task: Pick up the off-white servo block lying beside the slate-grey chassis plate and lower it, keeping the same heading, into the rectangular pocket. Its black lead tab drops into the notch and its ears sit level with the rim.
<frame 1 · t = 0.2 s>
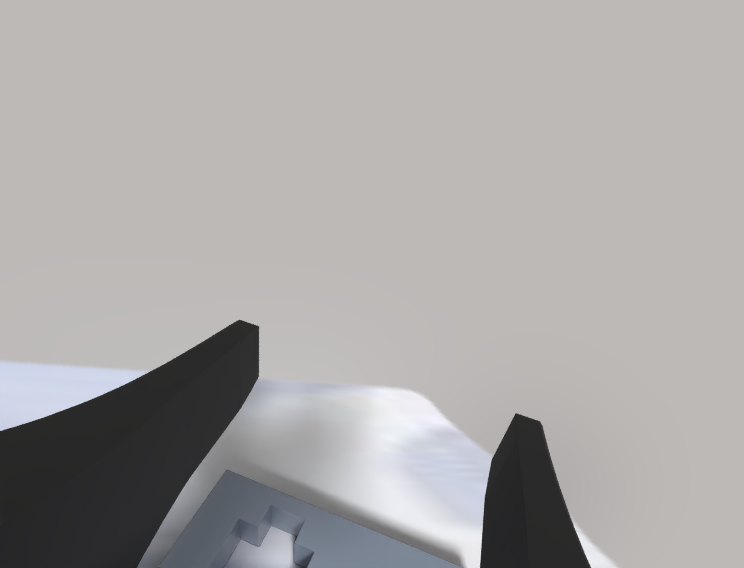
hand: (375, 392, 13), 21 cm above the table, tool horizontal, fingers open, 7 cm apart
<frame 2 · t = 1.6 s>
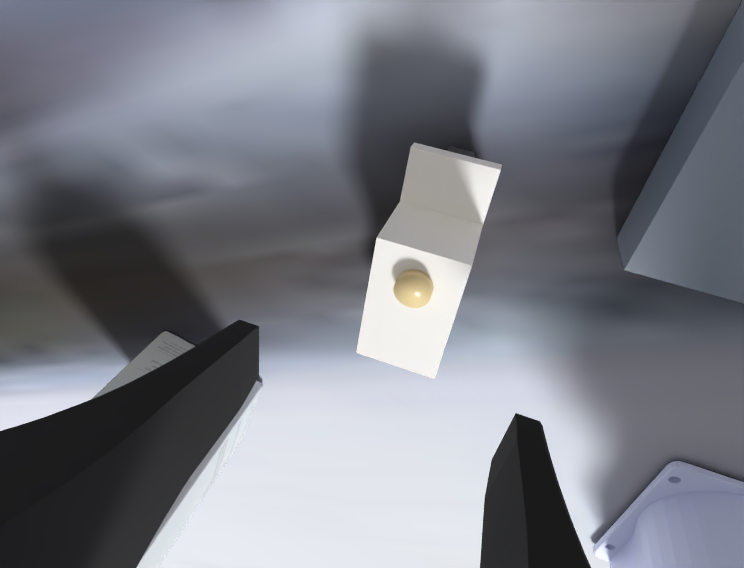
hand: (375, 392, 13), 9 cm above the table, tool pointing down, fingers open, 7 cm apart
supplement box: (207, 385, 32), on the table
servo: (440, 235, 20), on the table
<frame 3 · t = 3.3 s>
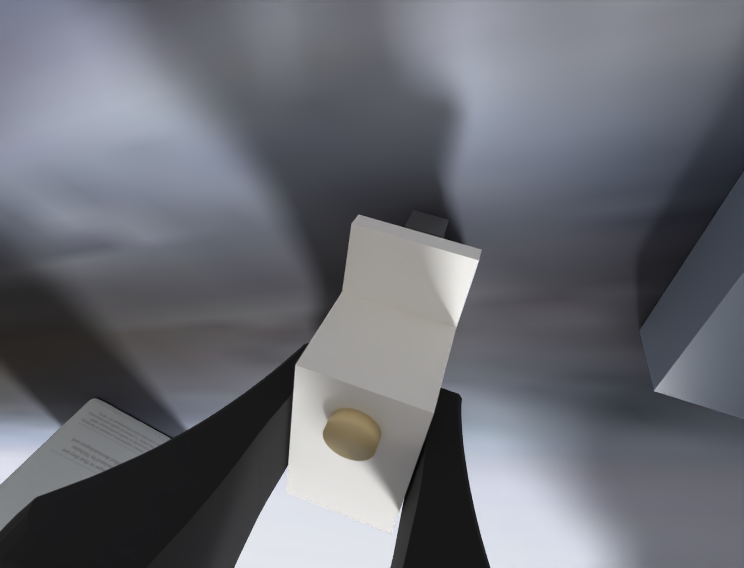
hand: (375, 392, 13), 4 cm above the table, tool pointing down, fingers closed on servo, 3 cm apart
supplement box: (150, 455, 27), on the table
servo: (407, 314, 16), on the table, touching gripper
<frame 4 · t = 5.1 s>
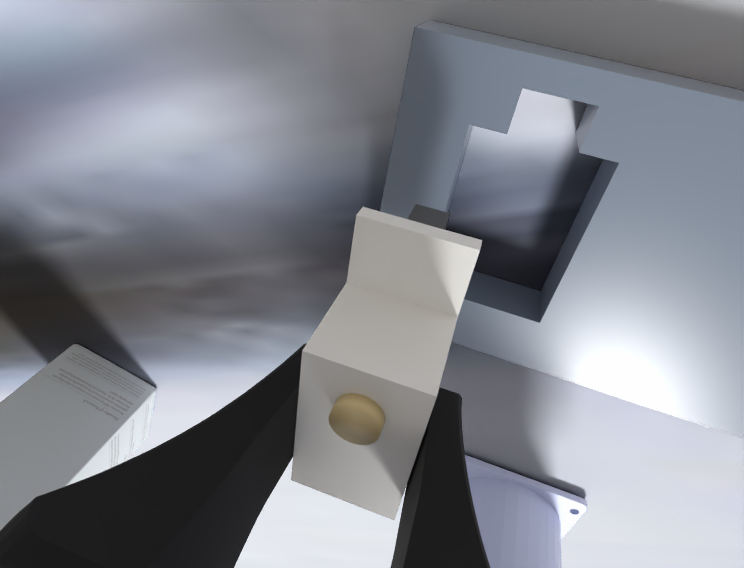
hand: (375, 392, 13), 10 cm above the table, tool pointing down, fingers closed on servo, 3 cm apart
supplement box: (116, 388, 38), on the table
chassis: (597, 231, 19), on the table
servo: (409, 307, 16), point 6 cm above the table, touching gripper
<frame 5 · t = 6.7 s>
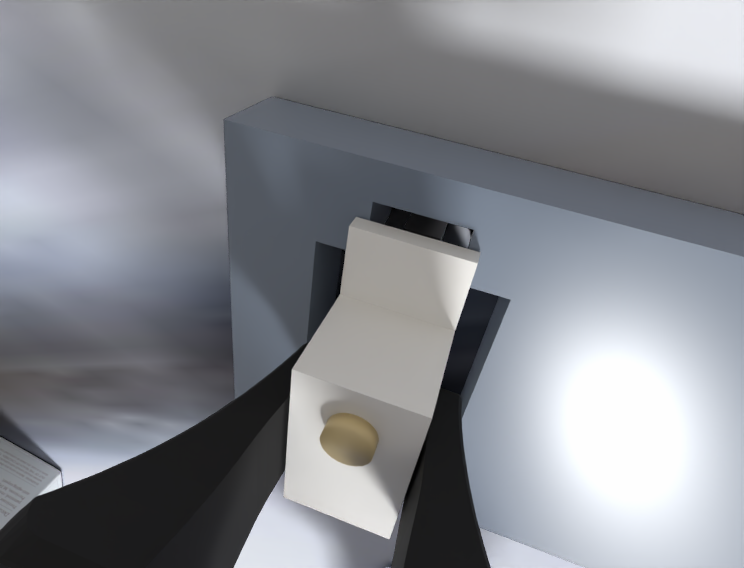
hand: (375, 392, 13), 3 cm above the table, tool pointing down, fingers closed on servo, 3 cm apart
supplement box: (23, 466, 34), on the table
chassis: (511, 352, 15), on the table
servo: (406, 317, 16), resting in chassis, touching gripper
when the fingers open (3 cm above the table, at t = 7.3 s): servo stays where it is, resting in chassis.
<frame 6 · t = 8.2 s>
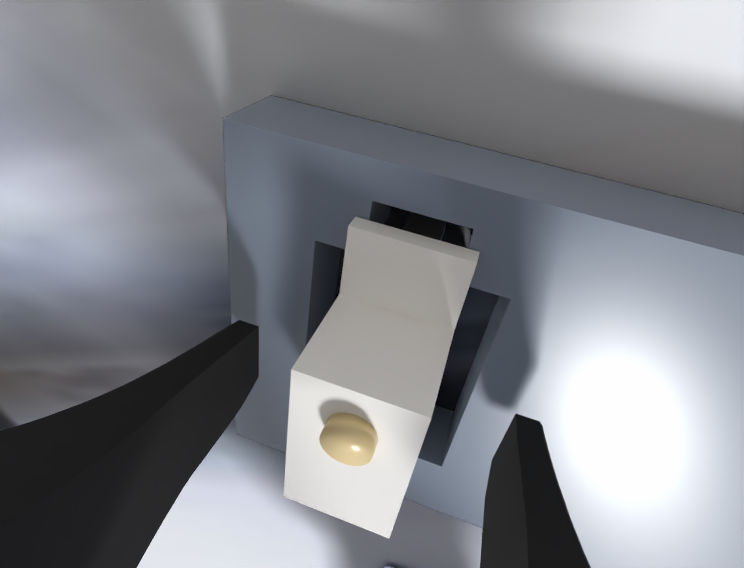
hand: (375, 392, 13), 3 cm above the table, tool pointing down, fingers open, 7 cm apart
chassis: (511, 351, 15), on the table
servo: (406, 316, 16), resting in chassis
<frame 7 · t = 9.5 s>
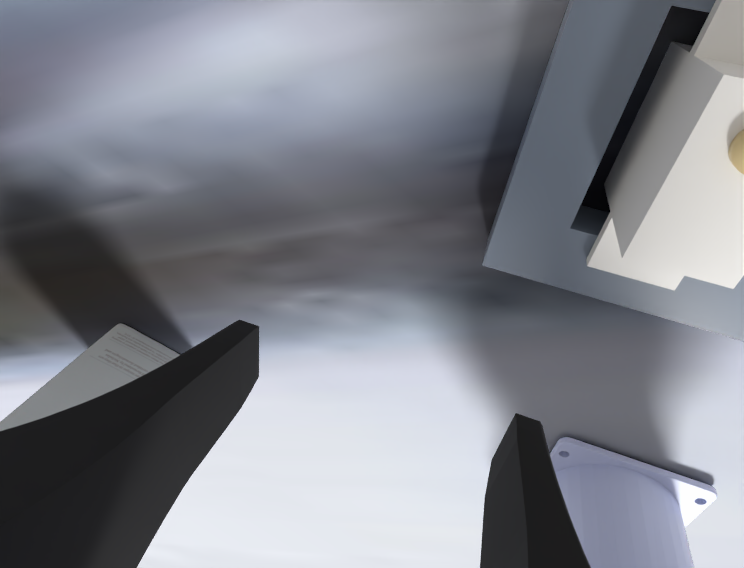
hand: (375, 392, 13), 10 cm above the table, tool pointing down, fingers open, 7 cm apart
supplement box: (162, 373, 35), on the table
servo: (679, 129, 16), resting in chassis
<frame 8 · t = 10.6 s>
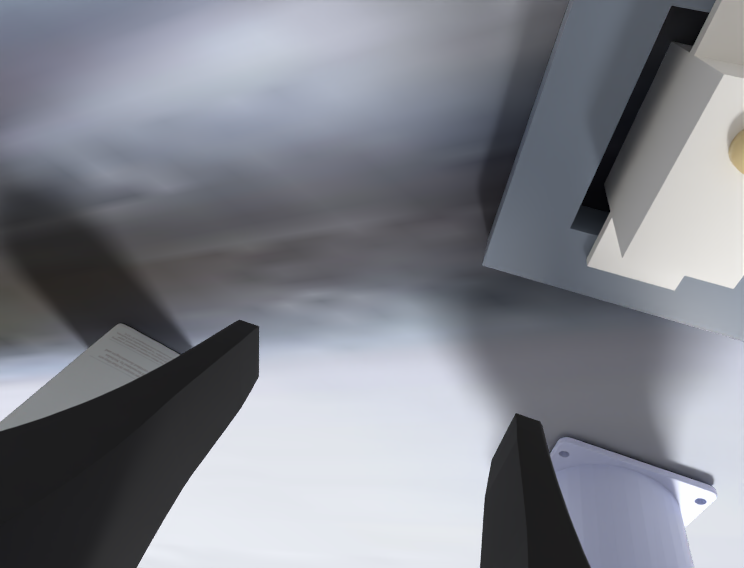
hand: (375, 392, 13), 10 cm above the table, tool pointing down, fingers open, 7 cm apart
supplement box: (162, 373, 35), on the table
servo: (679, 129, 16), resting in chassis
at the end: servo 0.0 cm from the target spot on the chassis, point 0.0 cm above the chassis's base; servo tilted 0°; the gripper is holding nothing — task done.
